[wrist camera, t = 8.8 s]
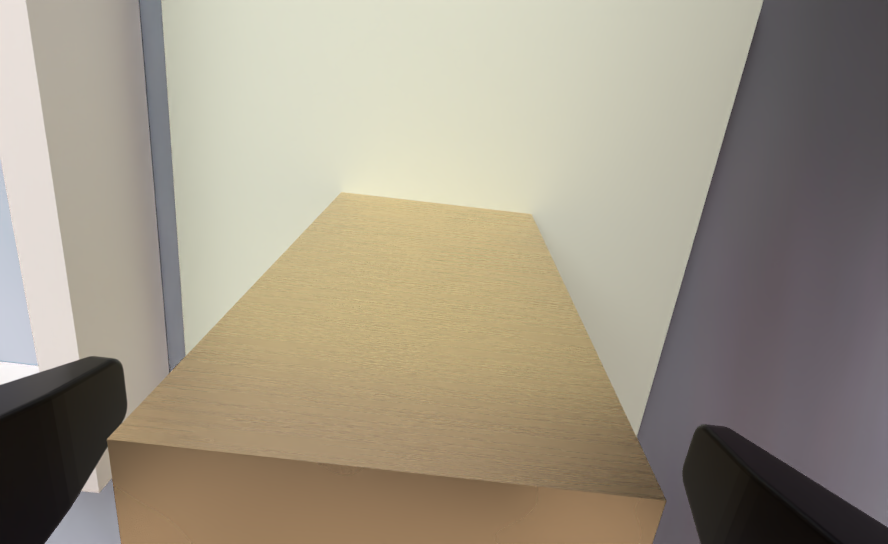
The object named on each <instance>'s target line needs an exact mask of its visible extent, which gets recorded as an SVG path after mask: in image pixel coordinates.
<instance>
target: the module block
mask: <svg viewBox="0 0 888 544" xmlns="http://www.w3.org/2000/svg"><path fill="white" fill-rule="evenodd" d="M107 444H108V452H109V459H110V466H111V473H112V481H113V488H114V495H115V503H116V510H117V517H118V524H119V532H120V539H121V544H652V543H653V540H654V537H655V534H656V531H657V528H658V525H659V522H660V519H661V516H662V513H663V510H664V507H665V504H666V499H665V497H664V495H663V492H662V490H661V488H660V486H659V484H658V482H657V480H656V478H655V475H654V473H653V471H652V469H651V467H650V465H649V463H648V461H647V458H646V456H645V454H644V452H643V450H642V448H641V446H640V444H639V441H638V439H637V437H636V435H635V433H634V431H633V429H632V427H631V424H630V422H629V420H628V418H627V416H626V414H625V412H624V410H623V407H622V405H621V403H620V401H619V399H618V397H617V395H616V393H615V390H614V388H613V386H612V384H611V382H610V380H609V378H608V376H607V373H606V371H605V369H604V367H603V365H602V363H601V361H600V359H599V356H598V354H597V352H596V350H595V348H594V346H593V344H592V342H591V339H590V337H589V335H588V333H587V331H586V329H585V327H584V325H583V322H582V320H581V318H580V316H579V314H578V312H577V310H576V308H575V305H574V303H573V301H572V299H571V297H570V295H569V293H568V291H567V288H566V286H565V284H564V282H563V280H562V278H561V276H560V274H559V271H558V269H557V267H556V265H555V263H554V261H553V259H552V257H551V254H550V252H549V250H548V248H547V246H546V244H545V242H544V240H543V237H542V235H541V233H540V231H539V229H538V227H537V225H536V223H535V220H534V218H533V216H532V214H527V213H518V212H509V211H501V210H492V209H483V208H475V207H466V206H457V205H449V204H440V203H432V202H423V201H414V200H406V199H397V198H388V197H380V196H371V195H362V194H354V193H345V192H341V193H340V194H339V195H338V196H337V197H336V198H335V199H334V200H333V201H332V202H331V203H330V205H329V206H328V207H327V208H326V209H325V210H324V211H323V212H322V213H321V214H320V215H319V216H318V217H317V218H316V219H315V220H314V221H313V222H312V224H311V225H310V226H309V227H308V228H307V229H306V230H305V231H304V232H303V233H302V234H301V235H300V236H299V237H298V238H297V239H296V240H295V241H294V242H293V244H292V245H291V246H290V247H289V248H288V249H287V250H286V251H285V252H284V253H283V254H282V255H281V256H280V257H279V258H278V259H277V260H276V261H275V262H274V264H273V265H272V266H271V267H270V268H269V269H268V270H267V271H266V272H265V273H264V274H263V275H262V276H261V277H260V278H259V279H258V280H257V281H256V282H255V284H254V285H253V286H252V287H251V288H250V289H249V290H248V291H247V292H246V293H245V294H244V295H243V296H242V297H241V298H240V299H239V300H238V301H237V303H236V304H235V305H234V306H233V307H232V308H231V309H230V310H229V311H228V312H227V313H226V314H225V315H224V316H223V317H222V318H221V319H220V320H219V321H218V323H217V324H216V325H215V326H214V327H213V328H212V329H211V330H210V331H209V332H208V333H207V334H206V335H205V336H204V337H203V338H202V339H201V340H200V341H199V343H198V344H197V345H196V346H195V347H194V348H193V349H192V350H191V351H190V352H189V353H188V354H187V355H186V356H185V357H184V358H183V359H182V360H181V362H180V363H179V364H178V365H177V366H176V367H175V368H174V369H173V370H172V371H171V372H170V373H169V374H168V375H167V376H166V377H165V378H164V379H163V380H162V382H161V383H160V384H159V385H158V386H157V387H156V388H155V389H154V390H153V391H152V392H151V393H150V394H149V395H148V396H147V397H146V398H145V399H144V400H143V402H142V403H141V404H140V405H139V406H138V407H137V408H136V409H135V410H134V411H133V412H132V413H131V414H130V415H129V416H128V417H127V418H126V419H125V420H124V422H123V423H122V424H121V425H120V426H119V427H118V428H117V429H116V430H115V431H114V432H113V433H112V434H111V435H110V436H109V437H108V438H107Z"/></svg>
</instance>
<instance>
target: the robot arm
mask: <svg viewBox="0 0 888 544" xmlns="http://www.w3.org/2000/svg"><path fill="white" fill-rule="evenodd" d="M126 412H127V394H126V386H125V377H124V369H123V365H122V363H121V362H120V361H119V360H118V359H115V358H107V357H98V356H89V357H86V358H83V359H79V360H76V361H73V362H70V363H67V364H64V365H61V366H58V367H54V368H51V369H48V370H45V371H42V372H39V373H36V374H33V375H29V376H26V377H23V378H20V379H17V380H14V381H11V382H8V383H4V384H1V385H0V544H45V542H46V541H47V540H48V538H49V537H50V536H51V534H52V533H53V532H54V530H55V529H56V528H57V526H58V525H59V523H60V522H61V521H62V519H63V518H64V516H65V515H66V514H67V512H68V511H69V509H70V508H71V506H72V505H73V503H74V502H75V500H76V499H77V497H78V495H79V494H80V492H81V491H82V489H83V487H84V486H85V484H86V482H87V481H88V479H89V477H90V476H91V474H92V472H93V471H94V469H95V467H96V466H97V464H98V462H99V461H100V459H101V457H102V456H103V454H104V452H105V451H106V449H107V447H108V444H107V438H108V437H109V436H110V435H111V434H112V433H113V432H114V431H115V430H116V429H117V428H118V427H119V426H120V425H121V424H122V422H123V420H124V418H125V415H126ZM683 483H684V486H685V490H686V493H687V497H688V501H689V504H690V508H691V511H692V515H693V518H694V522H695V525H696V529H697V532H698V536H699V539H700V543H701V544H888V527H886V526H885V525H883V524H881V523H880V522H878V521H877V520H875V519H874V518H872V517H870V516H869V515H867V514H866V513H864V512H862V511H861V510H859V509H858V508H856V507H854V506H853V505H851V504H850V503H848V502H846V501H845V500H843V499H842V498H840V497H838V496H837V495H835V494H834V493H832V492H830V491H829V490H827V489H826V488H824V487H822V486H821V485H819V484H818V483H816V482H814V481H813V480H811V479H810V478H808V477H806V476H805V475H803V474H802V473H800V472H798V471H797V470H795V469H794V468H792V467H790V466H789V465H787V464H786V463H784V462H782V461H781V460H779V459H778V458H776V457H774V456H773V455H771V454H770V453H768V452H767V451H765V450H763V449H762V448H760V447H759V446H757V445H755V444H754V443H752V442H751V441H749V440H747V439H746V438H744V437H743V436H741V435H739V434H738V433H736V432H735V431H733V430H731V429H730V428H727V427H724V426H715V425H705V424H703V425H700V426H699V427H698V428H697V429H696V430H695V433H694V435H693V438H692V441H691V444H690V447H689V450H688V453H687V456H686V459H685V462H684V465H683Z"/></svg>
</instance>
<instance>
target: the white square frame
mask: <svg viewBox="0 0 888 544" xmlns="http://www.w3.org/2000/svg"><path fill="white" fill-rule="evenodd" d="M0 159H1V164H2V170H3V175H4V181H5V186H6V192H7V197H8V203H9V208H10V214H11V219H12V225H13V230H14V236H15V241H16V247H17V252H18V258H19V263H20V269H21V274H22V280H23V285H24V291H25V296H26V302H27V307H28V313H29V318H30V324H31V329H32V335H33V340H34V346H35V351H36V357H37V362H38V366H34V365H26V364H17V363H8V362H0V385H1V384H4V383H8V382H11V381H14V380H17V379H20V378H23V377H26V376H29V375H33V374H36V373H39V372H42V371H45V370H48V369H51V368H54V367H58V366H61V365H64V364H67V363H70V362H73V361H76V360H79V359H83V358H86V357H89V356H98V357H107V358H115V359H118V360H119V361H120V362H121V363H122V365H123V369H124V377H125V386H126V394H127V412H126V415H125V418H124V420H125V419H126V418H127V417H128V416H129V415H130V414H131V413H132V412H133V411H134V410H135V409H136V408H137V407H138V406H139V405H140V404H141V403H142V402H143V400H144V399H145V398H146V397H147V396H148V395H149V394H150V393H151V392H152V391H153V390H154V389H155V388H156V387H157V386H158V385H159V384H160V383H161V382H162V380H163V379H164V378H165V377H166V376H167V375H168V374H169V364H168V352H167V340H166V327H165V315H164V303H163V291H162V279H161V267H160V254H159V242H158V230H157V218H156V206H155V193H154V181H153V169H152V157H151V145H150V133H149V120H148V108H147V96H146V84H145V72H144V59H143V47H142V35H141V23H140V11H139V0H0ZM124 420H123V422H124ZM123 422H122V423H123ZM111 479H112V473H111V466H110V459H109V452H108V447H107V449H106V451H105V452H104V454H103V456H102V457H101V459H100V461H99V462H98V464H97V466H96V467H95V469H94V471H93V472H92V474H91V476H90V477H89V479H88V481H87V482H86V484H85V486H84V487H83V489H82V491H85V492H94V493H100V492H101V490H102V489H103V488H104V487H105V486H106V485H107V483H108V482H109V481H110V480H111Z"/></svg>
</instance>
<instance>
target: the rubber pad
mask: <svg viewBox="0 0 888 544" xmlns="http://www.w3.org/2000/svg"><path fill="white" fill-rule="evenodd" d="M762 4H763V0H161V6H162V20H163V35H164V50H165V64H166V79H167V93H168V108H169V122H170V137H171V151H172V166H173V181H174V195H175V210H176V224H177V239H178V253H179V268H180V282H181V297H182V312H183V326H184V341H185V355H187V354H188V353H189V352H190V351H191V350H192V349H193V348H194V347H195V346H196V345H197V344H198V343H199V341H200V340H201V339H202V338H203V337H204V336H205V335H206V334H207V333H208V332H209V331H210V330H211V329H212V328H213V327H214V326H215V325H216V324H217V323H218V321H219V320H220V319H221V318H222V317H223V316H224V315H225V314H226V313H227V312H228V311H229V310H230V309H231V308H232V307H233V306H234V305H235V304H236V303H237V301H238V300H239V299H240V298H241V297H242V296H243V295H244V294H245V293H246V292H247V291H248V290H249V289H250V288H251V287H252V286H253V285H254V284H255V282H256V281H257V280H258V279H259V278H260V277H261V276H262V275H263V274H264V273H265V272H266V271H267V270H268V269H269V268H270V267H271V266H272V265H273V264H274V262H275V261H276V260H277V259H278V258H279V257H280V256H281V255H282V254H283V253H284V252H285V251H286V250H287V249H288V248H289V247H290V246H291V245H292V244H293V242H294V241H295V240H296V239H297V238H298V237H299V236H300V235H301V234H302V233H303V232H304V231H305V230H306V229H307V228H308V227H309V226H310V225H311V224H312V222H313V221H314V220H315V219H316V218H317V217H318V216H319V215H320V214H321V213H322V212H323V211H324V210H325V209H326V208H327V207H328V206H329V205H330V203H331V202H332V201H333V200H334V199H335V198H336V197H337V196H338V195H339V194H340V193H341V192H345V193H354V194H362V195H371V196H380V197H388V198H397V199H406V200H414V201H423V202H432V203H440V204H449V205H457V206H466V207H475V208H483V209H492V210H501V211H509V212H518V213H527V214H532V216H533V218H534V220H535V223H536V225H537V227H538V229H539V231H540V233H541V235H542V237H543V240H544V242H545V244H546V246H547V248H548V250H549V252H550V254H551V257H552V259H553V261H554V263H555V265H556V267H557V269H558V271H559V274H560V276H561V278H562V280H563V282H564V284H565V286H566V288H567V291H568V293H569V295H570V297H571V299H572V301H573V303H574V305H575V308H576V310H577V312H578V314H579V316H580V318H581V320H582V322H583V325H584V327H585V329H586V331H587V333H588V335H589V337H590V339H591V342H592V344H593V346H594V348H595V350H596V352H597V354H598V356H599V359H600V361H601V363H602V365H603V367H604V369H605V371H606V373H607V376H608V378H609V380H610V382H611V384H612V386H613V388H614V390H615V393H616V395H617V397H618V399H619V401H620V403H621V405H622V407H623V410H624V412H625V414H626V416H627V418H628V420H629V422H630V424H631V427H632V429H633V431H634V433H635V435H636V437H637V434H638V431H639V427H640V424H641V420H642V417H643V414H644V410H645V407H646V403H647V400H648V396H649V393H650V389H651V386H652V383H653V379H654V376H655V372H656V369H657V365H658V362H659V358H660V355H661V352H662V348H663V345H664V341H665V338H666V334H667V331H668V327H669V324H670V321H671V317H672V314H673V310H674V307H675V303H676V300H677V296H678V293H679V290H680V286H681V283H682V279H683V276H684V272H685V269H686V265H687V262H688V259H689V255H690V252H691V248H692V245H693V241H694V238H695V234H696V231H697V228H698V224H699V221H700V217H701V214H702V210H703V207H704V203H705V200H706V197H707V193H708V190H709V186H710V183H711V179H712V176H713V172H714V169H715V166H716V162H717V159H718V155H719V152H720V148H721V145H722V141H723V138H724V135H725V131H726V128H727V124H728V121H729V117H730V114H731V110H732V107H733V104H734V100H735V97H736V93H737V90H738V86H739V83H740V79H741V76H742V73H743V69H744V66H745V62H746V59H747V55H748V52H749V48H750V45H751V42H752V38H753V35H754V31H755V28H756V24H757V21H758V17H759V14H760V11H761V7H762Z"/></svg>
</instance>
